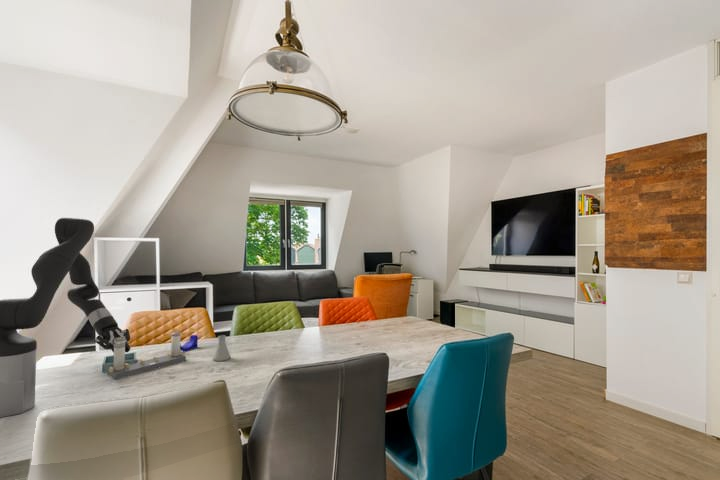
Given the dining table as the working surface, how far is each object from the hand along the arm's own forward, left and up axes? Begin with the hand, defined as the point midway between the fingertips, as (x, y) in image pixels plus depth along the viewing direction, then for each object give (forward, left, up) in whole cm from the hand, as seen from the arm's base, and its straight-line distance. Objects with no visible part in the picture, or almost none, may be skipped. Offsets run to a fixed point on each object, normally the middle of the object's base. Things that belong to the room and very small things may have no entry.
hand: (123, 352), depth 138 cm
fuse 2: (-4, -19, -4) cm, 20 cm away
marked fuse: (+2, +1, -4) cm, 5 cm away
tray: (+2, +1, -6) cm, 6 cm away
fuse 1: (-12, +1, -4) cm, 12 cm away
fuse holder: (-8, -9, -6) cm, 13 cm away
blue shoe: (+11, -24, -6) cm, 26 cm away
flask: (-13, -36, -6) cm, 39 cm away
